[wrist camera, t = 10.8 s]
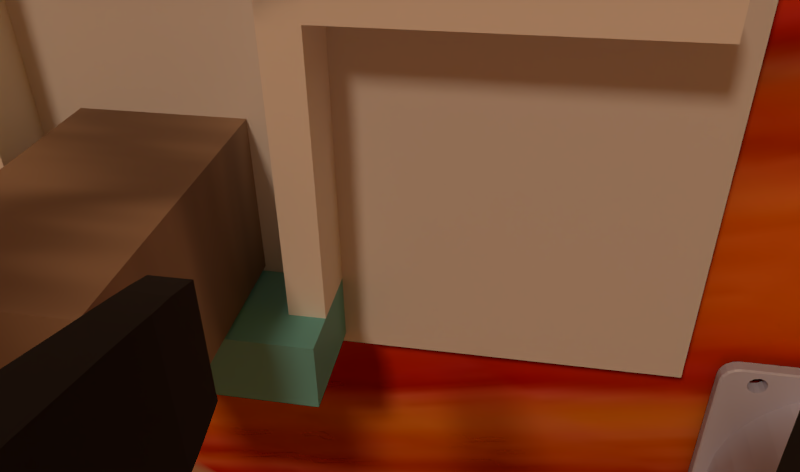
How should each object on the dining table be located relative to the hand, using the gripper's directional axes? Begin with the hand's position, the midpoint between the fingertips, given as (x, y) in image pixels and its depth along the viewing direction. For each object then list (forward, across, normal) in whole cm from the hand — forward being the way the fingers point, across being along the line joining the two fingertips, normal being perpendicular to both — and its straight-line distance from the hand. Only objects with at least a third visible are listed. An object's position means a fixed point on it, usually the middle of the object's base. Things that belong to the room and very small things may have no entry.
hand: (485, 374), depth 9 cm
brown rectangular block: (+10, +9, +4) cm, 14 cm away
